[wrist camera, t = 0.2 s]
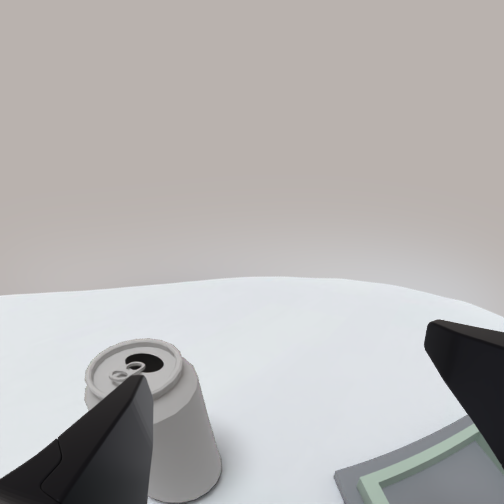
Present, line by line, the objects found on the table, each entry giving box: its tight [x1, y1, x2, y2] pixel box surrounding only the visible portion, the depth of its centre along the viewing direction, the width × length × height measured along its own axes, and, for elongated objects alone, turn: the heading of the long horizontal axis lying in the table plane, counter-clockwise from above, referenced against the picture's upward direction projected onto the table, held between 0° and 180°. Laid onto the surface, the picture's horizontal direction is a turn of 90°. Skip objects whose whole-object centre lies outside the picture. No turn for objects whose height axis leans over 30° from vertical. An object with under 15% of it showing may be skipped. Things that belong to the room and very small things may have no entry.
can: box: [84, 338, 221, 503], centre depth 18 cm, size 8×8×12 cm
